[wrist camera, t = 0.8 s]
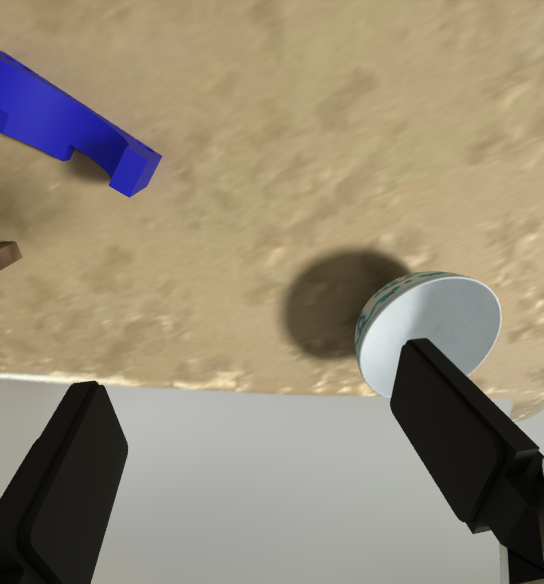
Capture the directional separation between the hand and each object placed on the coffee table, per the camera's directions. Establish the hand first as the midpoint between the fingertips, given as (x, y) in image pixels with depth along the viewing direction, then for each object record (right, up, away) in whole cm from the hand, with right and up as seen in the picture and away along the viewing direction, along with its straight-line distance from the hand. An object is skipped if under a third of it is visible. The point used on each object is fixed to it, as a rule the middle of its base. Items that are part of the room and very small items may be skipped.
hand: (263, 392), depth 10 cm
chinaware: (+15, +1, +28) cm, 32 cm away
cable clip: (-15, +16, +15) cm, 27 cm away
